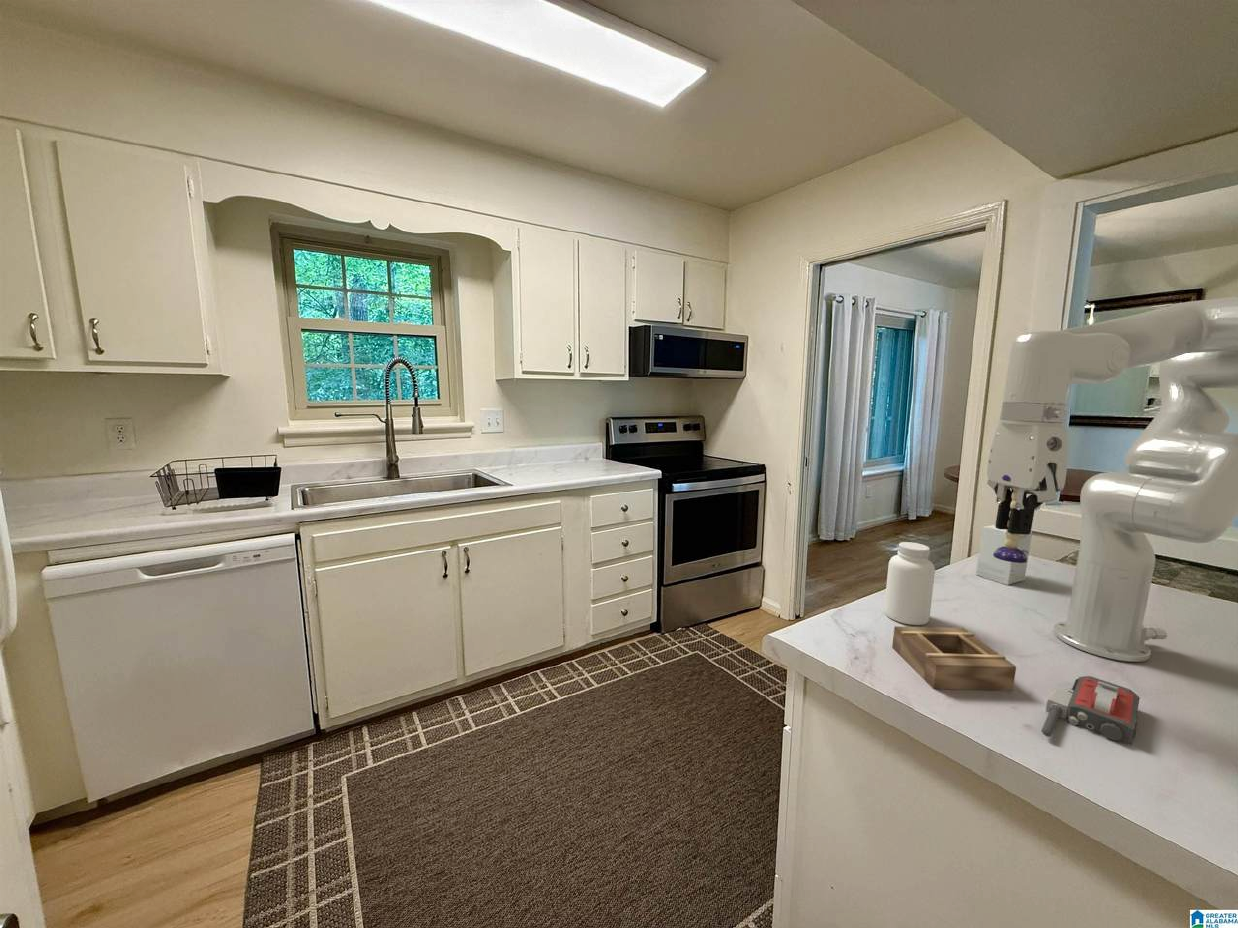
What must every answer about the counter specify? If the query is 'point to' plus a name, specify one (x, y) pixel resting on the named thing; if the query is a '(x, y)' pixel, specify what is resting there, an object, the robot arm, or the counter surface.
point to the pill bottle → (910, 585)
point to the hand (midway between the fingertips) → (1012, 530)
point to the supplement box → (996, 567)
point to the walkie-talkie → (1095, 708)
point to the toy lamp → (1011, 539)
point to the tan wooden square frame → (953, 659)
